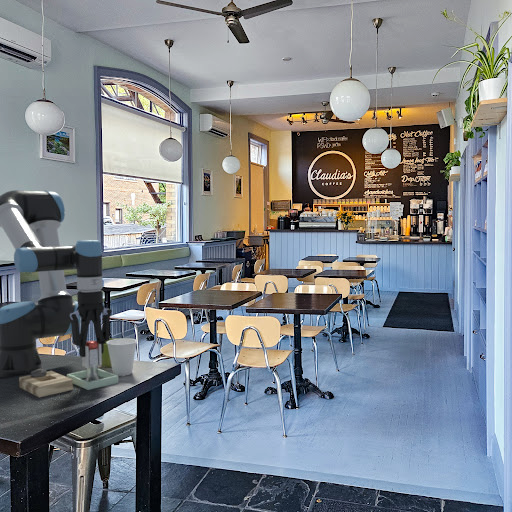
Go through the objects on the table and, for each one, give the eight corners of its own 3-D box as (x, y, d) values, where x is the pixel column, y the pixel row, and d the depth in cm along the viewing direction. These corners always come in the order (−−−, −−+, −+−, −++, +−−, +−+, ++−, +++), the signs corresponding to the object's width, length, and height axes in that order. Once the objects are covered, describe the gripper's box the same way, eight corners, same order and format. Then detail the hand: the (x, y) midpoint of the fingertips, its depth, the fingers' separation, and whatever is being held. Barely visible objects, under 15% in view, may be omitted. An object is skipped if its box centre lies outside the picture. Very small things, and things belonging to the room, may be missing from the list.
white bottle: (84, 380, 168) (83, 341, 167) (95, 377, 171) (94, 340, 170) (90, 382, 166) (89, 343, 165) (100, 380, 168) (99, 341, 167)
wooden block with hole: (19, 390, 163) (18, 371, 163) (51, 383, 170) (51, 365, 170) (39, 400, 153) (38, 380, 153) (72, 392, 161) (72, 373, 160)
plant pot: (115, 369, 186) (114, 344, 185) (91, 368, 188) (90, 343, 188) (129, 362, 195) (128, 339, 194) (105, 361, 197) (105, 337, 197)
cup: (130, 378, 174) (129, 345, 174) (101, 377, 176) (100, 344, 176) (142, 370, 184) (141, 338, 183) (115, 369, 186) (114, 337, 185)
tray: (67, 384, 169) (66, 374, 169) (97, 377, 177) (96, 368, 176) (87, 393, 160) (87, 382, 160) (118, 385, 167) (118, 375, 167)
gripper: (70, 294, 158) (72, 373, 159) (120, 288, 170) (122, 362, 171) (58, 291, 163) (60, 368, 165) (108, 287, 175) (109, 358, 176)
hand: (92, 365), depth 168 cm, fingers closed on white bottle, 4 cm apart
